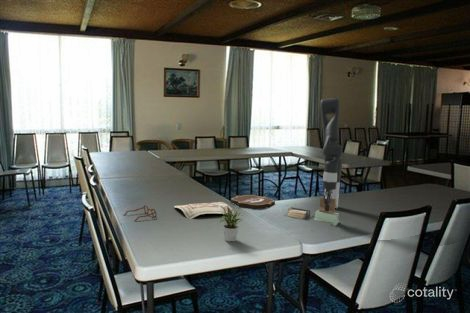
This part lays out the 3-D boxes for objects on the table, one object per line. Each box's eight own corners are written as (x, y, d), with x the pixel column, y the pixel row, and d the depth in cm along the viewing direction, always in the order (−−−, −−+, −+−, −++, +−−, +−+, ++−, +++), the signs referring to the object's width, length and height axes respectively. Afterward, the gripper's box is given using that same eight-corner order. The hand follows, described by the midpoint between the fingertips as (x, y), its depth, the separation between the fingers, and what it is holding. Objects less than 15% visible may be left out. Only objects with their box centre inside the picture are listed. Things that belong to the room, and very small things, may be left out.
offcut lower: (290, 214, 218) (290, 211, 218) (305, 216, 214) (305, 214, 214) (287, 216, 214) (287, 213, 213) (303, 218, 210) (303, 216, 210)
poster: (216, 209, 239) (171, 211, 225) (217, 199, 238) (171, 200, 224) (237, 218, 214) (187, 220, 200) (238, 207, 214) (188, 208, 200)
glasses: (157, 218, 200) (157, 209, 200) (134, 222, 192) (134, 212, 191) (144, 213, 210) (145, 204, 209) (122, 216, 201) (123, 207, 201)
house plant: (205, 239, 170) (207, 204, 169) (223, 232, 182) (225, 199, 180) (231, 247, 162) (233, 210, 161) (248, 239, 174) (250, 204, 172)
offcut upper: (290, 211, 217) (290, 209, 217) (306, 214, 214) (306, 211, 214) (288, 213, 213) (288, 211, 213) (304, 216, 209) (304, 213, 209)
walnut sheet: (319, 217, 213) (321, 196, 212) (333, 220, 210) (335, 199, 209) (318, 218, 212) (320, 197, 210) (333, 221, 208) (335, 199, 207)
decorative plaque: (258, 207, 224) (220, 198, 243) (257, 212, 225) (220, 203, 244) (285, 200, 248) (248, 192, 266) (284, 205, 248) (248, 197, 267)
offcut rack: (289, 213, 225) (289, 206, 224) (312, 217, 218) (312, 210, 218) (282, 218, 214) (283, 210, 213) (306, 222, 208) (307, 214, 207)
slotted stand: (317, 218, 217) (318, 209, 217) (338, 222, 212) (339, 212, 211) (313, 221, 210) (314, 212, 209) (335, 225, 205) (336, 215, 204)
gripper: (325, 177, 216) (323, 207, 218) (320, 180, 204) (317, 212, 206) (339, 179, 213) (336, 209, 215) (334, 182, 201) (331, 214, 203)
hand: (327, 210), depth 210 cm, fingers closed on walnut sheet, 1 cm apart
